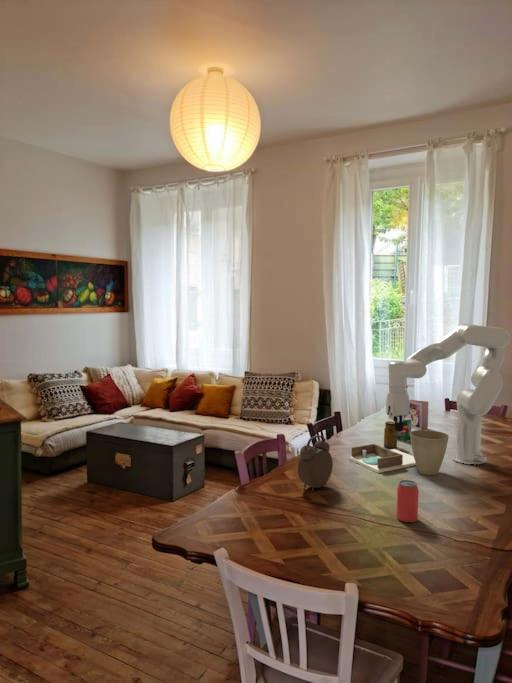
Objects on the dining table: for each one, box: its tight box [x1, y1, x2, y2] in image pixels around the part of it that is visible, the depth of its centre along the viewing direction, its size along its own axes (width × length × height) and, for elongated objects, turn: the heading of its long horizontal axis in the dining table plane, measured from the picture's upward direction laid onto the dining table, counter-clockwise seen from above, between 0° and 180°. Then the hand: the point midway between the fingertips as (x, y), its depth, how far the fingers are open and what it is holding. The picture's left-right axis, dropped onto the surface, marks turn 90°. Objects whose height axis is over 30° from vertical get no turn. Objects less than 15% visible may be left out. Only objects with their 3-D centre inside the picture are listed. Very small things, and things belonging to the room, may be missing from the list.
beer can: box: [396, 479, 420, 523], centre depth 163 cm, size 7×7×12 cm
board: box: [348, 449, 417, 474], centre depth 220 cm, size 19×26×4 cm
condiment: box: [380, 420, 402, 451], centre depth 240 cm, size 7×8×12 cm
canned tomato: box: [397, 417, 412, 442], centre depth 254 cm, size 8×8×11 cm
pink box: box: [407, 399, 430, 430], centre depth 276 cm, size 11×7×15 cm, turn 25°
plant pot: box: [410, 429, 449, 476], centre depth 206 cm, size 15×15×16 cm
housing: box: [351, 443, 403, 469], centre depth 217 cm, size 18×13×4 cm
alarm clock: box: [297, 434, 333, 492], centre depth 189 cm, size 15×7×20 cm, turn 135°
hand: (398, 430), depth 222 cm, fingers closed
